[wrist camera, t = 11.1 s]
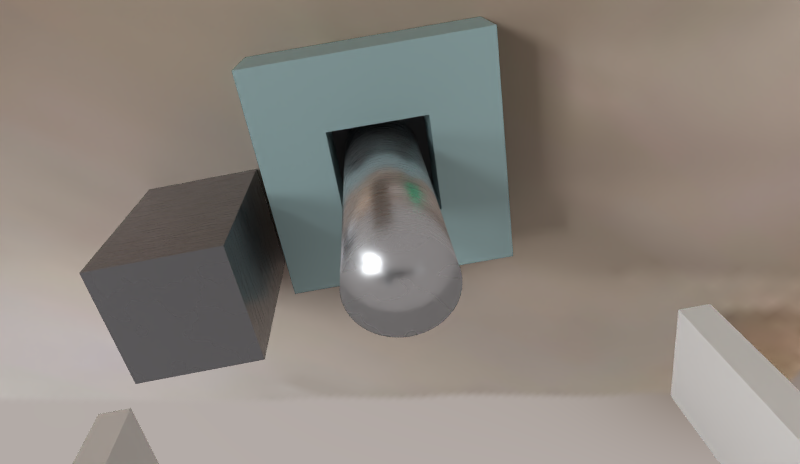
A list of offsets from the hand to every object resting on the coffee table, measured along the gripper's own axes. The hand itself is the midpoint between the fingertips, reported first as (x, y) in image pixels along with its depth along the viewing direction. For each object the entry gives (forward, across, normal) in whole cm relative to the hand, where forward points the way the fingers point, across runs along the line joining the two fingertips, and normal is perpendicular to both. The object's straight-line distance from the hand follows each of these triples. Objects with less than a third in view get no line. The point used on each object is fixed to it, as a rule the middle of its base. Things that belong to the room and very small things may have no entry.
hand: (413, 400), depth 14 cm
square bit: (+20, -10, -3) cm, 22 cm away
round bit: (+19, 0, 0) cm, 19 cm away
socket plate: (+19, 0, 0) cm, 19 cm away
